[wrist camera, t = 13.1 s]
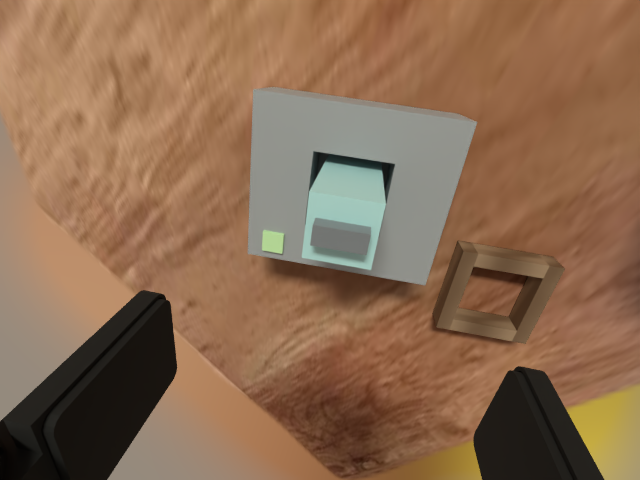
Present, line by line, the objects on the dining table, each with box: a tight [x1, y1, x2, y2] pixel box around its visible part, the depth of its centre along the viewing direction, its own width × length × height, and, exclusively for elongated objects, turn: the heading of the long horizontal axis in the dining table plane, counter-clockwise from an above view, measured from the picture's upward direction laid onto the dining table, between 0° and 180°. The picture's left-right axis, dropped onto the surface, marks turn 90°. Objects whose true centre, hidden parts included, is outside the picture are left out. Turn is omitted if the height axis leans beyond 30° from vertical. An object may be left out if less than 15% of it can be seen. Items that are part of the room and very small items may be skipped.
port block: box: [248, 87, 477, 285], centre depth 26 cm, size 14×12×5 cm
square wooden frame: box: [433, 241, 565, 344], centre depth 30 cm, size 8×8×2 cm
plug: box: [302, 154, 386, 270], centre depth 22 cm, size 4×4×11 cm
